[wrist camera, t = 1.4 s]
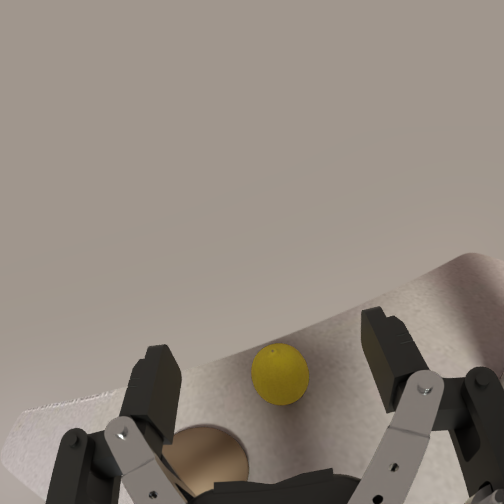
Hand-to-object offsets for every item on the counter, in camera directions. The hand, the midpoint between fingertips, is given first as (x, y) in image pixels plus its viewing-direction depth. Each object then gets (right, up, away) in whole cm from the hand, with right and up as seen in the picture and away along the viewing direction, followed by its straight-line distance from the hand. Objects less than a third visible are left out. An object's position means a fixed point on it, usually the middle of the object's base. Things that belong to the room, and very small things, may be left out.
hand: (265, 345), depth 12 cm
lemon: (+3, -12, +19) cm, 23 cm away
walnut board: (-6, -18, +13) cm, 23 cm away
